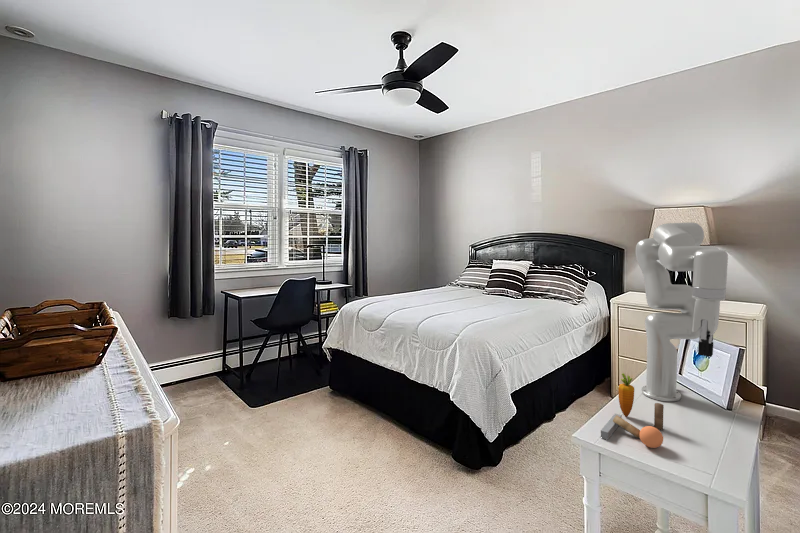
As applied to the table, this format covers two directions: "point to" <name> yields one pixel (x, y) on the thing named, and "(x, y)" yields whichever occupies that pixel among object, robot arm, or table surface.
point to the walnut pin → (658, 416)
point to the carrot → (626, 395)
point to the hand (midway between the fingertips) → (705, 355)
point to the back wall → (609, 428)
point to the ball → (651, 436)
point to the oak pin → (626, 426)
